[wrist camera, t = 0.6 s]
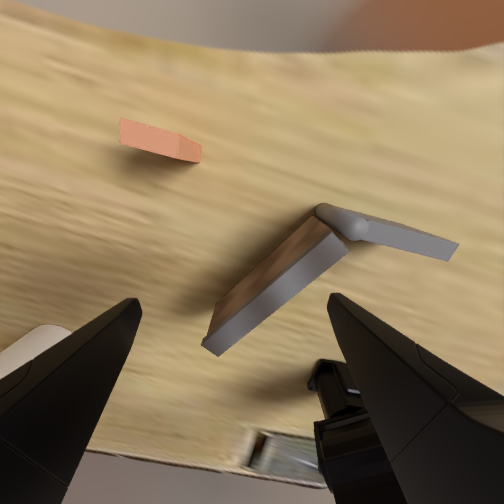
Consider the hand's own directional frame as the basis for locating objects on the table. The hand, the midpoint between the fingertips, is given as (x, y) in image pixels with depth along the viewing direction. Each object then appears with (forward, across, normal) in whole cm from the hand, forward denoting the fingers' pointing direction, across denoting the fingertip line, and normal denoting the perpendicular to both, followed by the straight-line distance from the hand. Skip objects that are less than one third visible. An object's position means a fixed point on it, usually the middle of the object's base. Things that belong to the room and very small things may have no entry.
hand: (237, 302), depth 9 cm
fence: (+14, -5, -2) cm, 15 cm away
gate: (+13, -3, +6) cm, 14 cm away
